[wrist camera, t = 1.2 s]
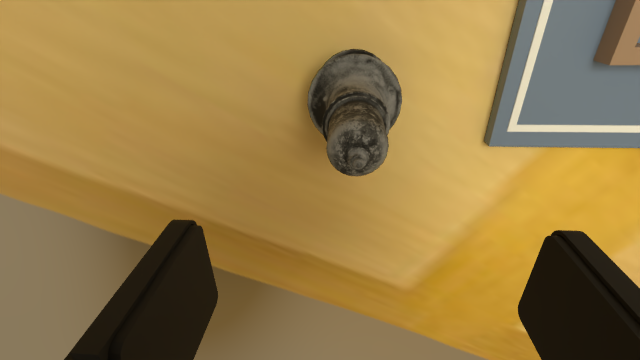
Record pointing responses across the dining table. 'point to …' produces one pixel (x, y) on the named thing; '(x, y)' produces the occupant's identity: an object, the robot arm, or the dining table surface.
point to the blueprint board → (570, 76)
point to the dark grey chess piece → (355, 109)
